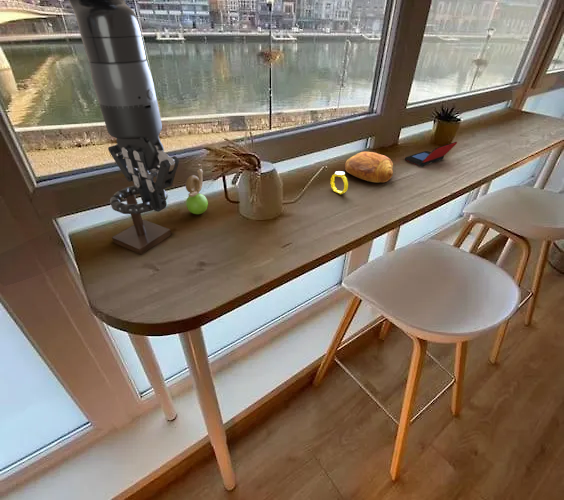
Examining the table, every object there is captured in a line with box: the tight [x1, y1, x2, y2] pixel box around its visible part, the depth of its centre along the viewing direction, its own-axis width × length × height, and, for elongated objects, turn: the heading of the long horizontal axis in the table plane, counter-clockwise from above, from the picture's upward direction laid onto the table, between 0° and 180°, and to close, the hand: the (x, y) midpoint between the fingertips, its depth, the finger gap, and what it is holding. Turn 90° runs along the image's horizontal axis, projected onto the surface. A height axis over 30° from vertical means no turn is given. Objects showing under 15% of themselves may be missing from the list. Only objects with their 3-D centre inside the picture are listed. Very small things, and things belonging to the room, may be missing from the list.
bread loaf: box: [344, 150, 394, 183], centre depth 102 cm, size 14×16×8 cm
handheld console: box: [404, 141, 458, 167], centre depth 111 cm, size 12×11×7 cm
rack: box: [111, 195, 172, 255], centre depth 72 cm, size 9×9×12 cm
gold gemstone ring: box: [329, 170, 349, 195], centre depth 92 cm, size 6×3×6 cm, turn 35°
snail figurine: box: [185, 163, 209, 215], centre depth 81 cm, size 5×6×12 cm
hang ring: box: [109, 185, 169, 215], centre depth 56 cm, size 9×9×2 cm
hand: (155, 207), depth 55 cm, fingers closed on hang ring, 1 cm apart
